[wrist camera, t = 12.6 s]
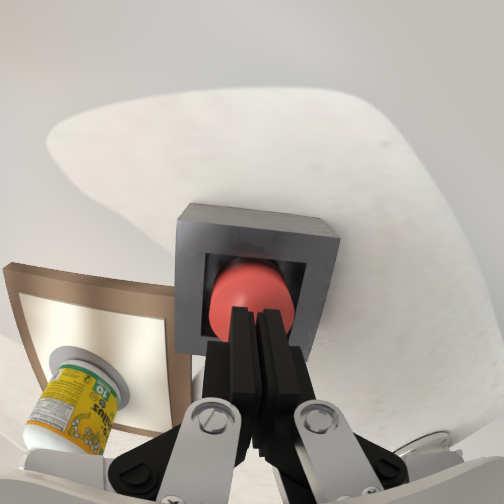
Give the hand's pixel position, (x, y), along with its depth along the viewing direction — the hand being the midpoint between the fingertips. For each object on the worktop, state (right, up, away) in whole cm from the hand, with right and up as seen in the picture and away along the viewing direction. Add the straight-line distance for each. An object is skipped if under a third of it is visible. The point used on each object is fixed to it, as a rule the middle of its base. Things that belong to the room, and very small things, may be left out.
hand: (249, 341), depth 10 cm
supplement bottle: (-12, -7, +8) cm, 16 cm away
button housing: (0, +2, +6) cm, 7 cm away
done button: (0, +1, +4) cm, 4 cm away
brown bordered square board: (-11, -5, +9) cm, 15 cm away
